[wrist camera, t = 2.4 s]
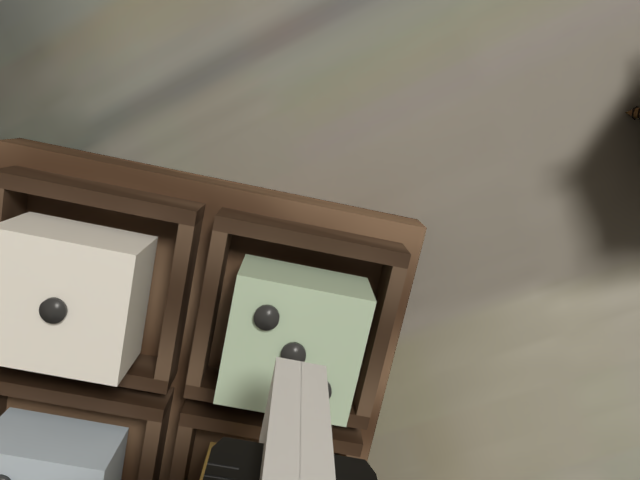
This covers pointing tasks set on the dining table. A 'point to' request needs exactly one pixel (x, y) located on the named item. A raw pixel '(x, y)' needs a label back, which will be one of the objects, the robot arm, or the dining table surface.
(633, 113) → the game die
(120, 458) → the button two
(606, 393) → the dining table surface
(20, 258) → the button one
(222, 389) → the button three
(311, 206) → the wooden compartment tray
